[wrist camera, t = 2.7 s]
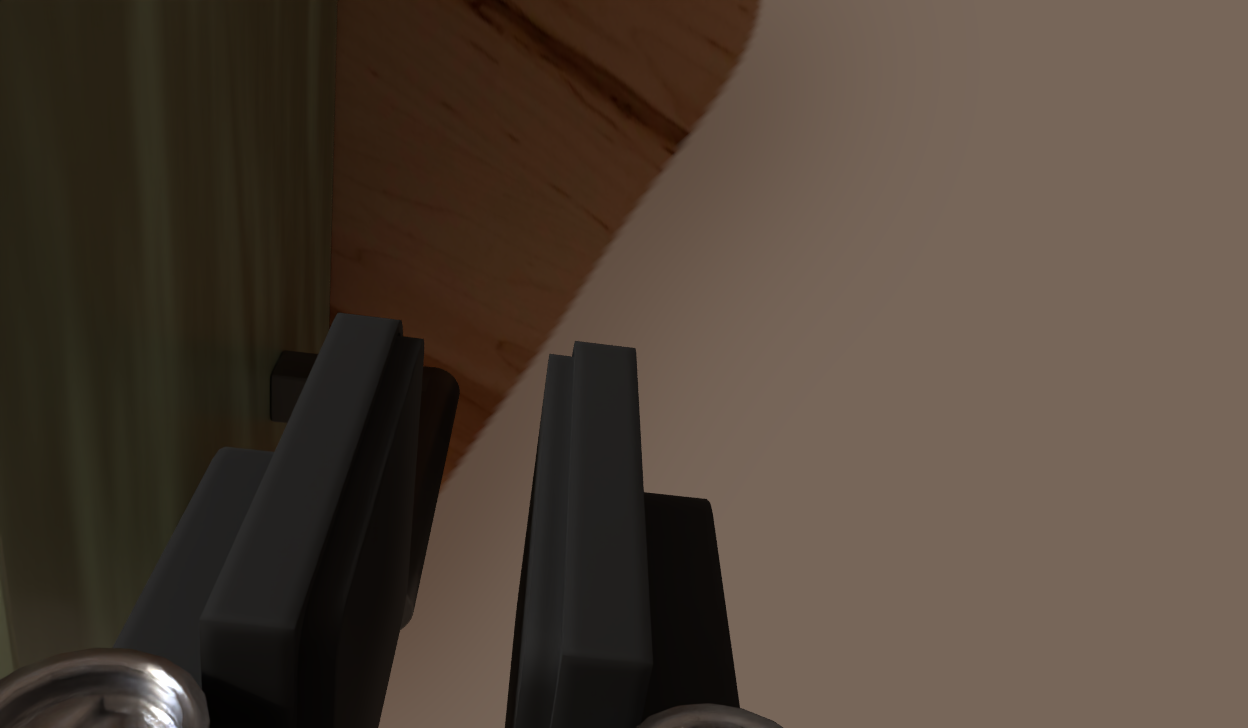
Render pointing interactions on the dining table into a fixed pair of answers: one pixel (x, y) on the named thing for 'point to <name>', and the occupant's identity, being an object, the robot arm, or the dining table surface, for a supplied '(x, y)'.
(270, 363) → the cupboard door
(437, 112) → the dining table surface
